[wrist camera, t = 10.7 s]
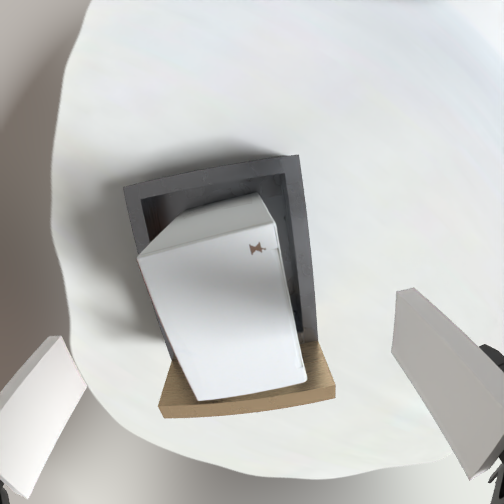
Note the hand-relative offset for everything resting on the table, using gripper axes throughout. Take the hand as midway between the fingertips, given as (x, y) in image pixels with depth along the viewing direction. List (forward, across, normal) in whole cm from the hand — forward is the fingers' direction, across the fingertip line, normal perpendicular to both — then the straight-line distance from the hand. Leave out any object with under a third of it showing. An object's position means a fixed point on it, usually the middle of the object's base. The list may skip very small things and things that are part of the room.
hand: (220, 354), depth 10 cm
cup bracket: (+13, 0, 0) cm, 13 cm away
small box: (+12, 0, 0) cm, 12 cm away
